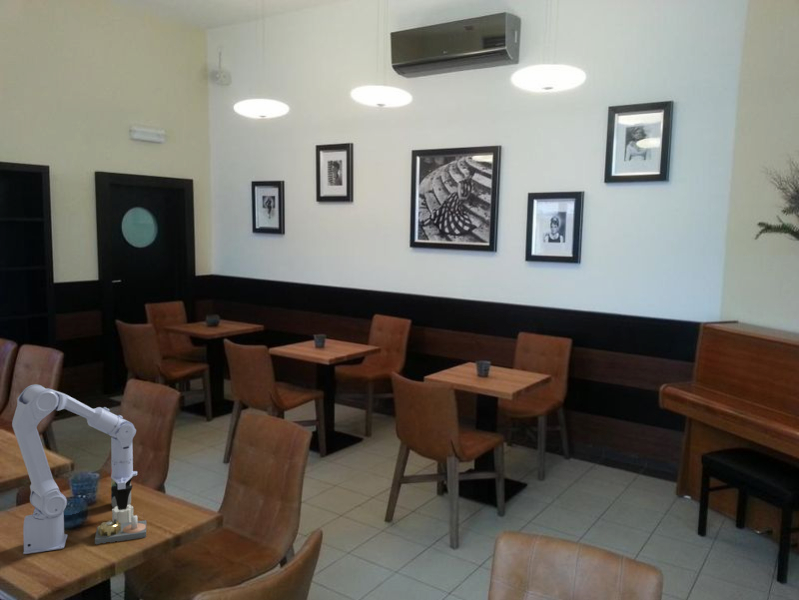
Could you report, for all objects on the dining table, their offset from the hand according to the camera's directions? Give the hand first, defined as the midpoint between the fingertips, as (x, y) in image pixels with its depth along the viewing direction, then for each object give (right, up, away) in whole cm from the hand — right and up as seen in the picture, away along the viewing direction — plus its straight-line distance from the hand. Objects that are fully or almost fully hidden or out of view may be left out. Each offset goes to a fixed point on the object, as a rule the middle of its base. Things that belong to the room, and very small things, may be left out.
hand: (123, 503), depth 179 cm
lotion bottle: (-6, -4, +12) cm, 14 cm away
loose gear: (0, -5, 0) cm, 5 cm away
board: (+3, -6, -8) cm, 11 cm away
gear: (+1, -5, -10) cm, 11 cm away
